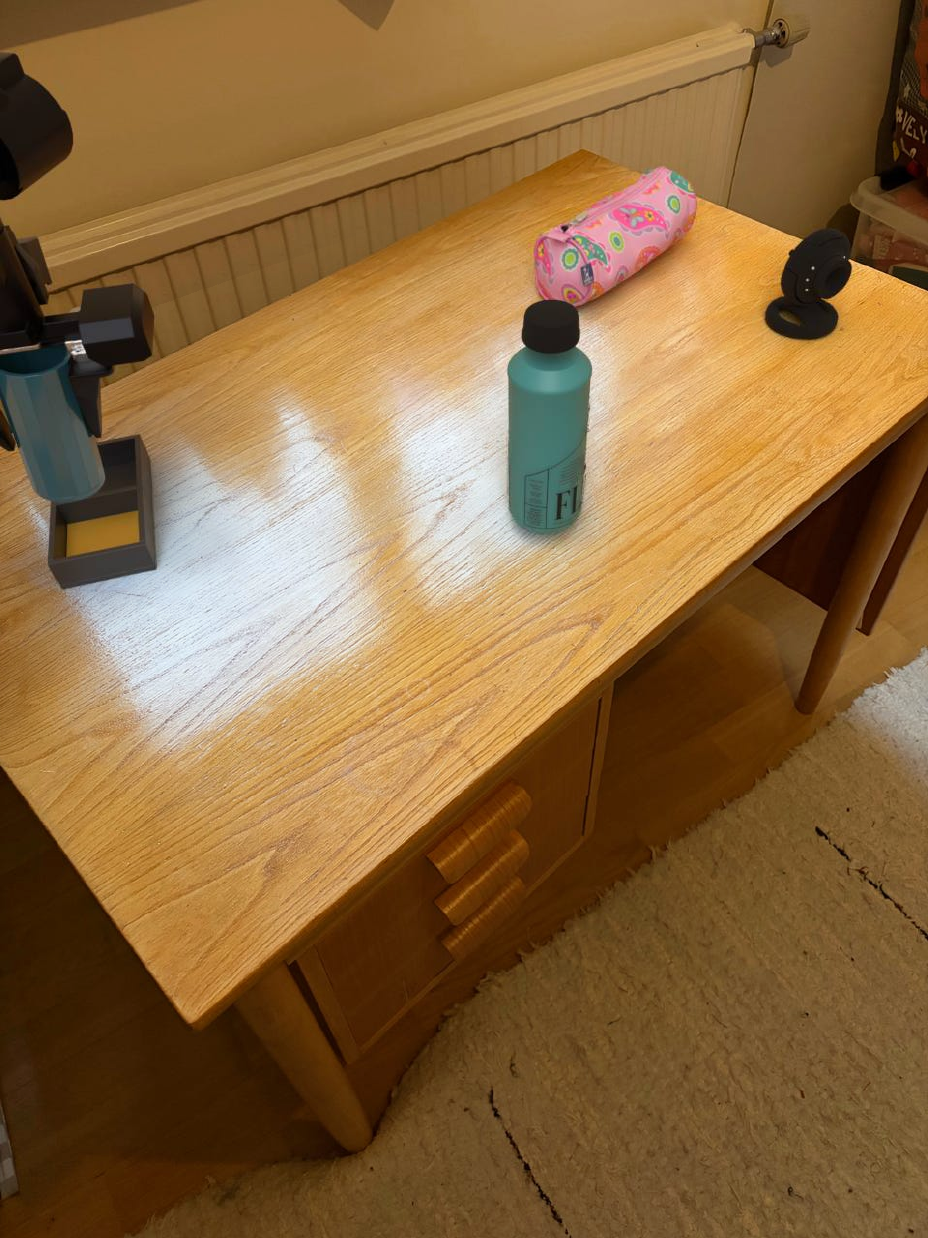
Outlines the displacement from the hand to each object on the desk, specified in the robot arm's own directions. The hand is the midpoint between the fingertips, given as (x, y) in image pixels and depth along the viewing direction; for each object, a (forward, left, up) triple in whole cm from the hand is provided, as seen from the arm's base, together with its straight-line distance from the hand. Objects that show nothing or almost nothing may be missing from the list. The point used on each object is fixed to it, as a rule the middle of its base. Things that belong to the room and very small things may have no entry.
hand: (56, 441), depth 65 cm
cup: (0, 0, -4) cm, 4 cm away
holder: (-4, +4, -13) cm, 14 cm away
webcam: (+47, +57, -13) cm, 75 cm away
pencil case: (+25, +60, -13) cm, 66 cm away
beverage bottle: (+32, +18, -13) cm, 39 cm away
